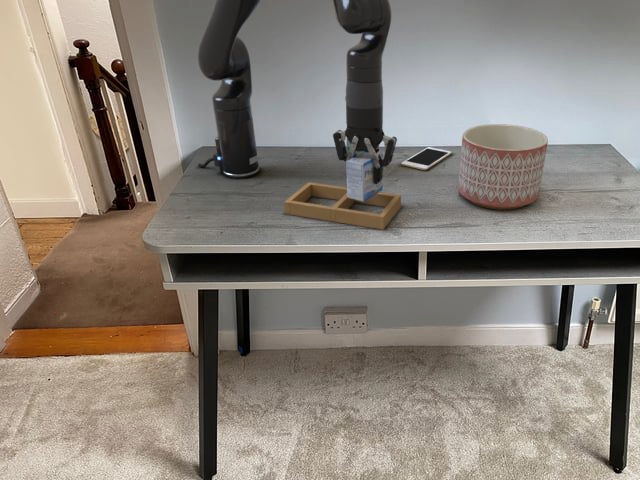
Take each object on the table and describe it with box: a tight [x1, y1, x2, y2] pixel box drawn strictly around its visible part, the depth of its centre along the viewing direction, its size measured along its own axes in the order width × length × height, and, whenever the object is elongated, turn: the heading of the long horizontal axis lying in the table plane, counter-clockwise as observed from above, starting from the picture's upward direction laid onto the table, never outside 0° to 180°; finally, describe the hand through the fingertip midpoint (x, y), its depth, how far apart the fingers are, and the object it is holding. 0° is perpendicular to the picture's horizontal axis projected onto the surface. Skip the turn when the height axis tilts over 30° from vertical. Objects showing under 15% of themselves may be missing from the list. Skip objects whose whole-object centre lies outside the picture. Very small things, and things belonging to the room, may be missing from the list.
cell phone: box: [401, 146, 452, 171], centre depth 155 cm, size 8×16×1 cm, turn 148°
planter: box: [458, 123, 549, 210], centre depth 130 cm, size 19×19×15 cm
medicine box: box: [345, 152, 384, 202], centre depth 121 cm, size 8×4×9 cm, turn 148°
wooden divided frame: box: [284, 181, 402, 230], centre depth 126 cm, size 24×12×3 cm, turn 71°
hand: (364, 180), depth 121 cm, fingers closed on medicine box, 5 cm apart
